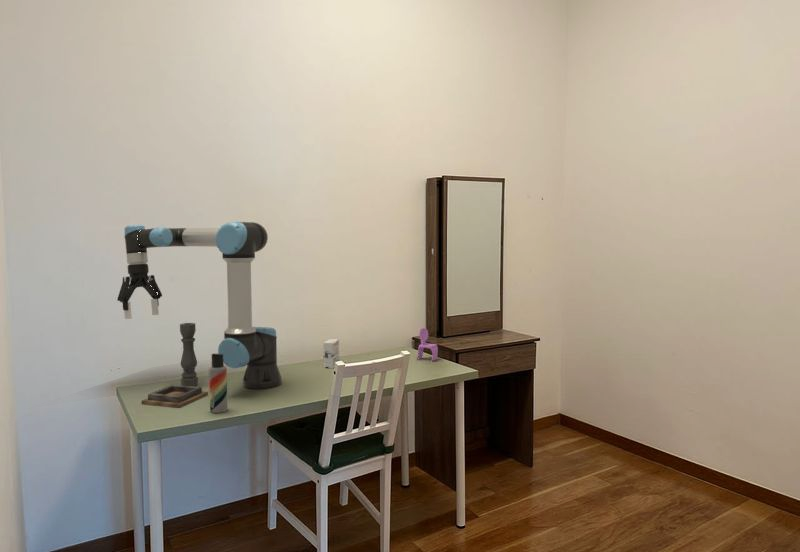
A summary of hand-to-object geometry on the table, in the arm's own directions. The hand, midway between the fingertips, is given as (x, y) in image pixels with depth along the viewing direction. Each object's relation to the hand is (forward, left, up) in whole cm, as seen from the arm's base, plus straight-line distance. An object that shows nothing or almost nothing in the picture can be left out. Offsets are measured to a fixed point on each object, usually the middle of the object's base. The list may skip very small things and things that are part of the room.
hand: (142, 316), depth 223 cm
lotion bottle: (-50, +22, -27) cm, 61 cm away
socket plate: (-27, +15, -27) cm, 41 cm away
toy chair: (-101, -71, -27) cm, 126 cm away
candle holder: (-21, -1, -27) cm, 34 cm away
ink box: (-62, -47, -27) cm, 82 cm away
